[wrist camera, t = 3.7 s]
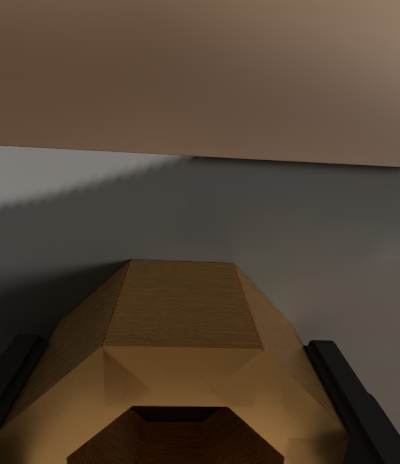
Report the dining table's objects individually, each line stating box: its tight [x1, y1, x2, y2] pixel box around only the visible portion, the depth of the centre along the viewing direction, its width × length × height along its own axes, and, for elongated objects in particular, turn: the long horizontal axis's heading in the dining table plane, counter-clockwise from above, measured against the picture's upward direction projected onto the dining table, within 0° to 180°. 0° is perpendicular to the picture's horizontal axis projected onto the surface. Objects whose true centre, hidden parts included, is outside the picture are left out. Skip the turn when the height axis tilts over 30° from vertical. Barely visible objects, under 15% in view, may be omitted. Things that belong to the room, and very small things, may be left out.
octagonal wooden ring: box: [0, 260, 350, 464], centre depth 9 cm, size 6×6×4 cm
